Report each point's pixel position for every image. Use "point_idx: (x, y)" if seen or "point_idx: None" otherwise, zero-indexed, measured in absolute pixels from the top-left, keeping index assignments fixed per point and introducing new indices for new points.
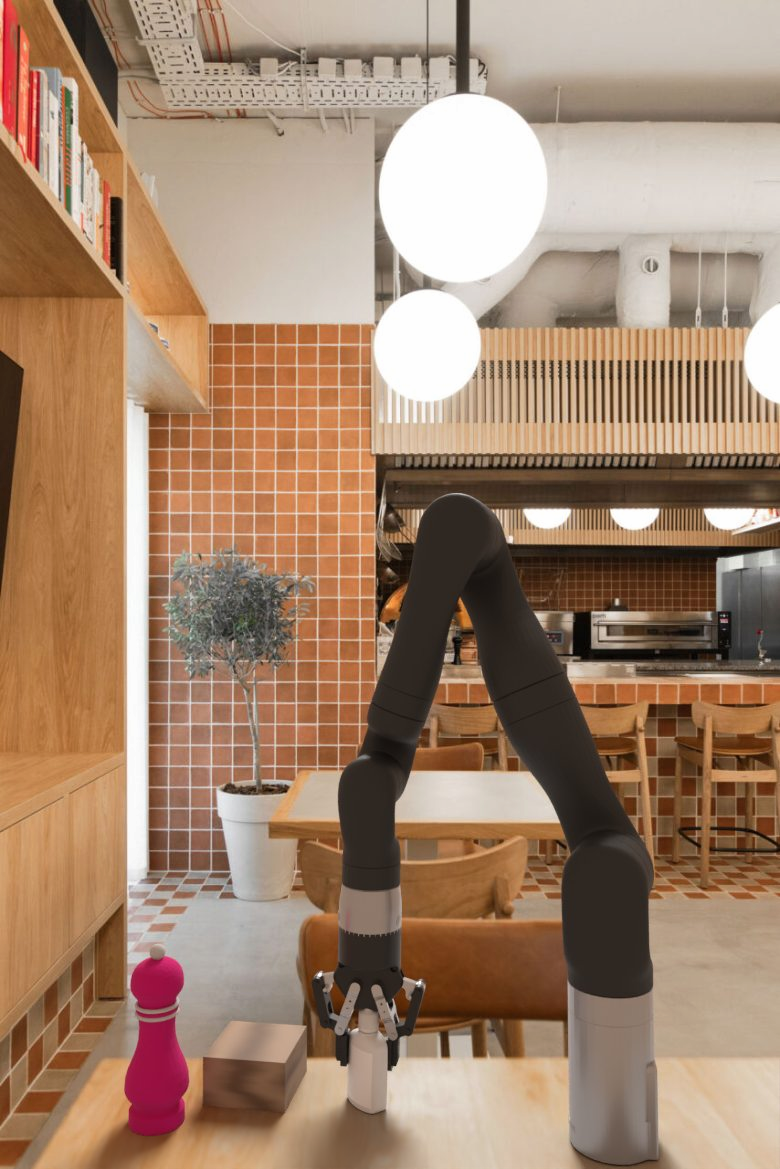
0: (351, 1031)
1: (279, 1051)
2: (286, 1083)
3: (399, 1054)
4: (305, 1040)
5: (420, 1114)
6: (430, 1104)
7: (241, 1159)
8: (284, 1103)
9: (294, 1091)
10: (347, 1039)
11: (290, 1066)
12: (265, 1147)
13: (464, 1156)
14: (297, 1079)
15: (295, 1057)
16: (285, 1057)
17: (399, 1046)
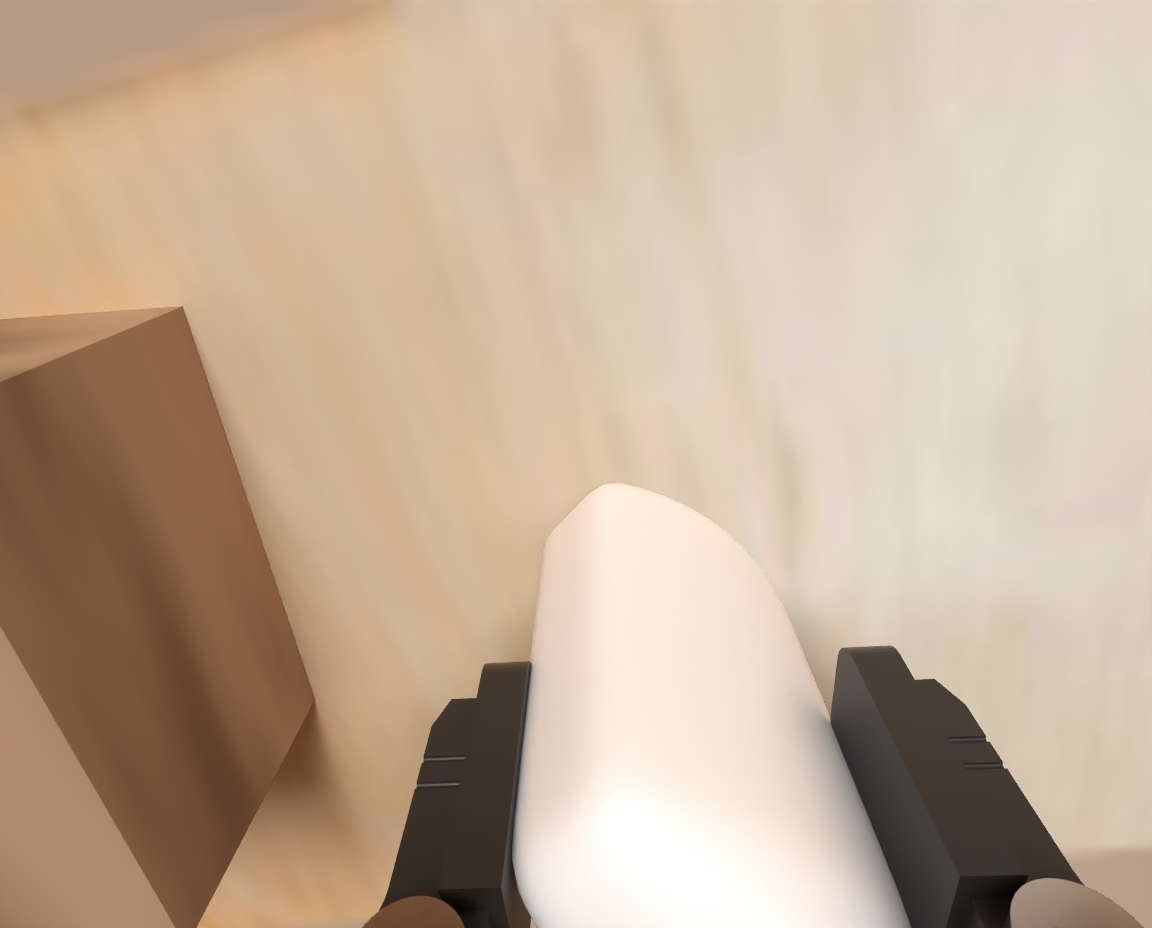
0: (535, 919)
1: (44, 846)
2: (247, 790)
3: (975, 722)
4: (18, 421)
5: (968, 609)
6: (1033, 514)
7: (328, 923)
8: (293, 736)
9: (259, 579)
10: (522, 909)
11: (189, 783)
12: (367, 873)
13: (1143, 833)
14: (222, 545)
15: (144, 693)
16: (142, 902)
17: (1015, 795)
